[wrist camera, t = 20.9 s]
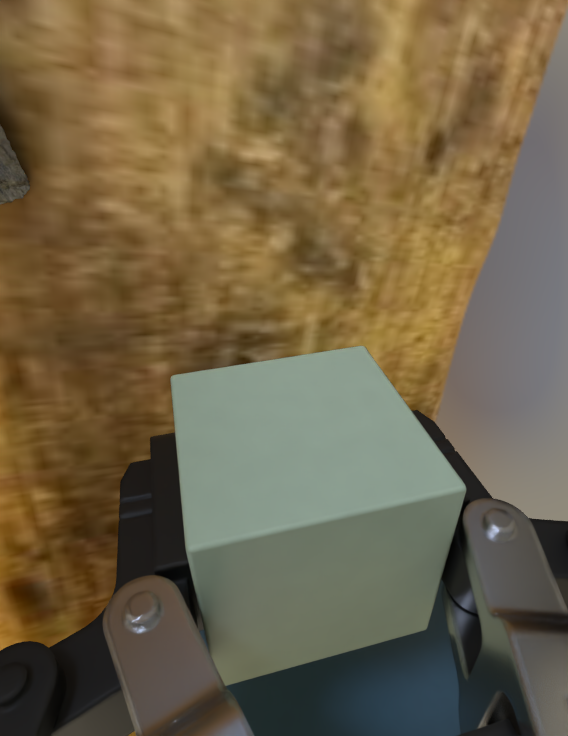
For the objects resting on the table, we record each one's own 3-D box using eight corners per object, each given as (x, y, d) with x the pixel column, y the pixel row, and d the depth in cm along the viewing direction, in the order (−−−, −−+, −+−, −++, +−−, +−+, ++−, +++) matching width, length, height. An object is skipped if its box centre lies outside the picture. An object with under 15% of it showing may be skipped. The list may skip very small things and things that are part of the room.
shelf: (261, 1033, 16) (650, 876, 18) (228, 996, 9) (851, 757, 12) (205, 551, 31) (424, 504, 33) (177, 402, 24) (455, 358, 27)
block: (169, 374, 11) (184, 551, 7) (364, 343, 12) (469, 487, 8) (196, 509, 13) (217, 690, 10) (353, 476, 14) (428, 631, 10)
